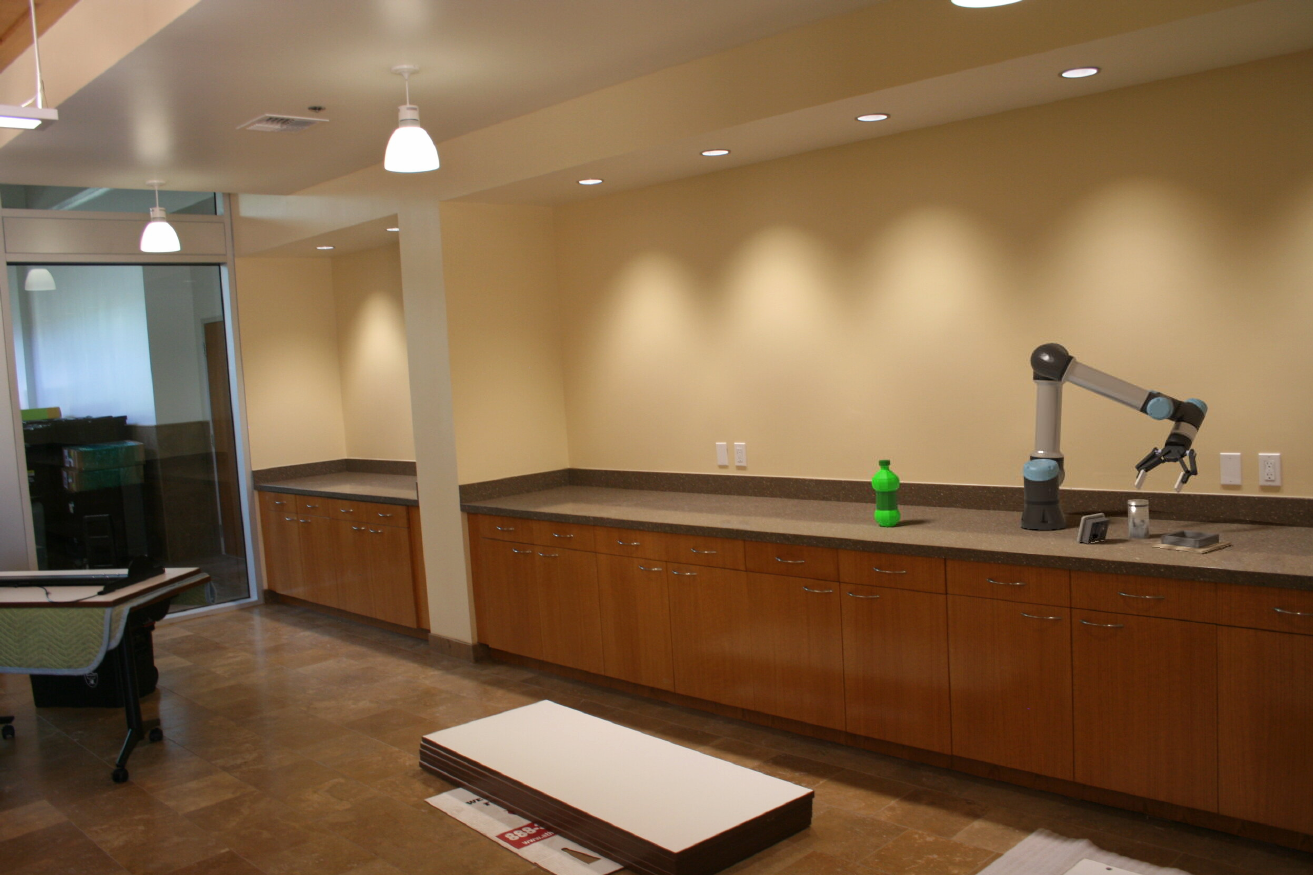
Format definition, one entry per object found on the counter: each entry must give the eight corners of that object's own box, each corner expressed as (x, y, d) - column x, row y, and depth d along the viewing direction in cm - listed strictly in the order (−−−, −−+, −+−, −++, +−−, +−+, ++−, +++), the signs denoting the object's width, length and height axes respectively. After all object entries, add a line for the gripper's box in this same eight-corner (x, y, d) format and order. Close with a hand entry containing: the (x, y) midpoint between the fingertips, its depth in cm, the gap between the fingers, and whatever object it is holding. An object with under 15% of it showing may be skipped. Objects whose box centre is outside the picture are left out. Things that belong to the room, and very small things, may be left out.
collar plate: (1150, 547, 297) (1149, 536, 297) (1179, 538, 305) (1178, 528, 305) (1201, 554, 283) (1201, 542, 283) (1231, 545, 292) (1230, 533, 291)
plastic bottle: (899, 522, 369) (895, 458, 366) (903, 527, 358) (900, 461, 356) (872, 523, 370) (869, 459, 368) (876, 528, 359) (872, 462, 357)
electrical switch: (1097, 539, 314) (1098, 511, 313) (1110, 542, 310) (1111, 514, 308) (1076, 543, 311) (1077, 515, 309) (1089, 547, 306) (1090, 518, 304)
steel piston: (1124, 537, 314) (1123, 501, 313) (1135, 534, 317) (1134, 498, 316) (1142, 539, 308) (1141, 502, 307) (1153, 536, 312) (1152, 500, 311)
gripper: (1223, 447, 314) (1199, 498, 307) (1149, 444, 335) (1126, 492, 329) (1213, 432, 311) (1189, 484, 304) (1140, 431, 332) (1116, 479, 325)
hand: (1156, 489), depth 316 cm, fingers open, 13 cm apart
